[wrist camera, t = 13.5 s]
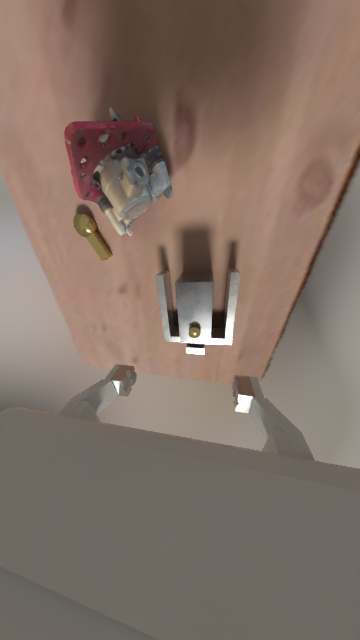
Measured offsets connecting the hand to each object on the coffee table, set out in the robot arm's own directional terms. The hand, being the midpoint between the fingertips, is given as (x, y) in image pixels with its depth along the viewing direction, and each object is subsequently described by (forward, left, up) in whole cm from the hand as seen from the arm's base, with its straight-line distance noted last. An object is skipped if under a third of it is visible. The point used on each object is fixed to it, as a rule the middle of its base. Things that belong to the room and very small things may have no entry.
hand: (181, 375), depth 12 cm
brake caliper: (-17, -9, -18) cm, 26 cm away
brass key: (-11, -17, -18) cm, 27 cm away
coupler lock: (0, 0, -18) cm, 18 cm away
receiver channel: (+1, 0, -18) cm, 18 cm away
